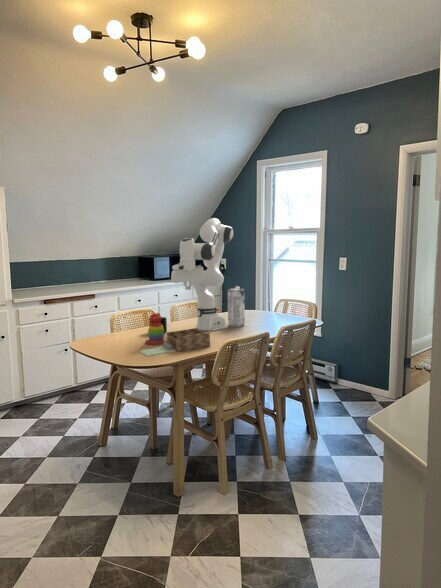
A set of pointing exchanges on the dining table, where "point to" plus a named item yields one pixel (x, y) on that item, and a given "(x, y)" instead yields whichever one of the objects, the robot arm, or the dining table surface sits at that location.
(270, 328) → the dining table surface
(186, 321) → the dining table surface
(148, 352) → the cover plate
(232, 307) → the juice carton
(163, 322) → the black flat block
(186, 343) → the walnut box
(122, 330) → the dining table surface
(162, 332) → the stacking bear
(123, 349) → the dining table surface
